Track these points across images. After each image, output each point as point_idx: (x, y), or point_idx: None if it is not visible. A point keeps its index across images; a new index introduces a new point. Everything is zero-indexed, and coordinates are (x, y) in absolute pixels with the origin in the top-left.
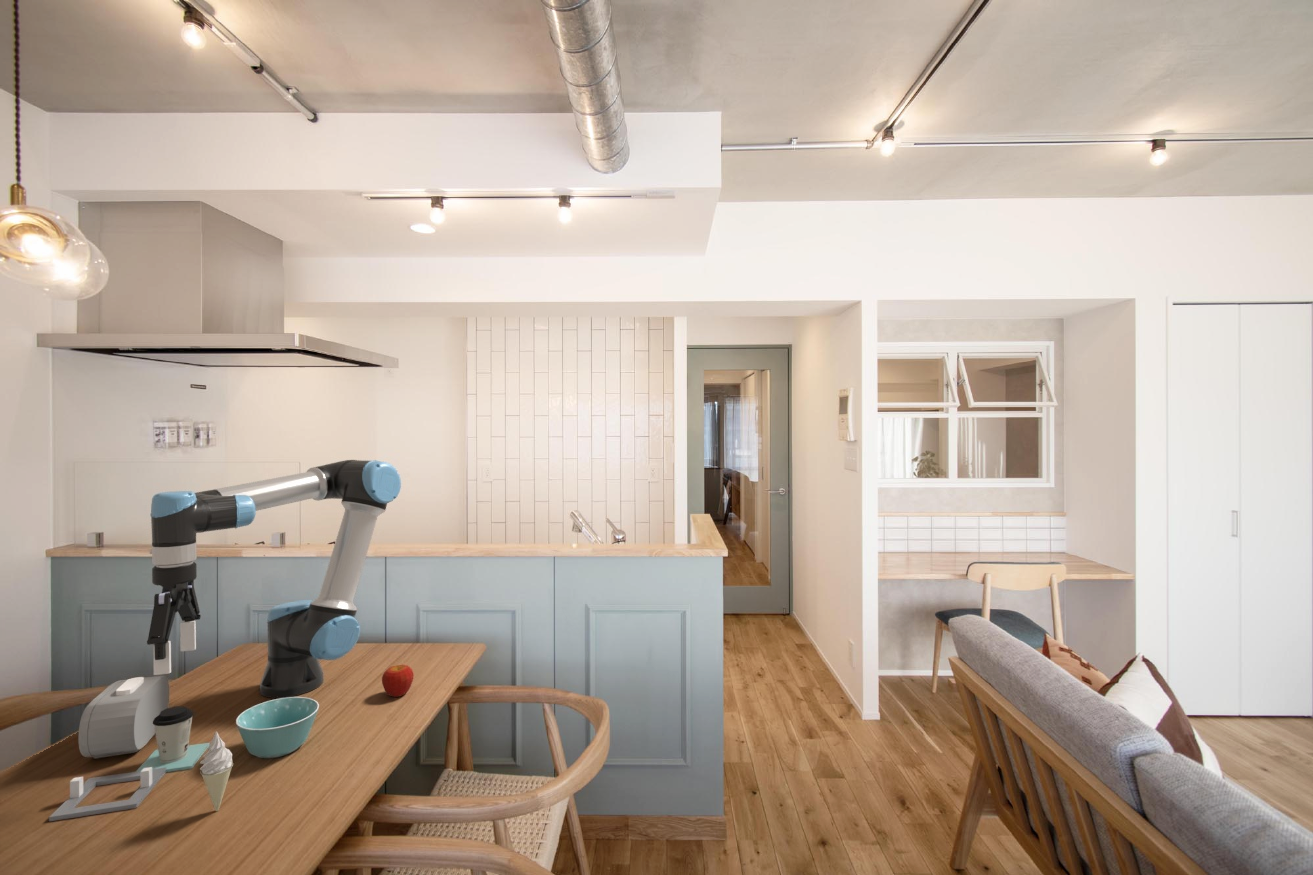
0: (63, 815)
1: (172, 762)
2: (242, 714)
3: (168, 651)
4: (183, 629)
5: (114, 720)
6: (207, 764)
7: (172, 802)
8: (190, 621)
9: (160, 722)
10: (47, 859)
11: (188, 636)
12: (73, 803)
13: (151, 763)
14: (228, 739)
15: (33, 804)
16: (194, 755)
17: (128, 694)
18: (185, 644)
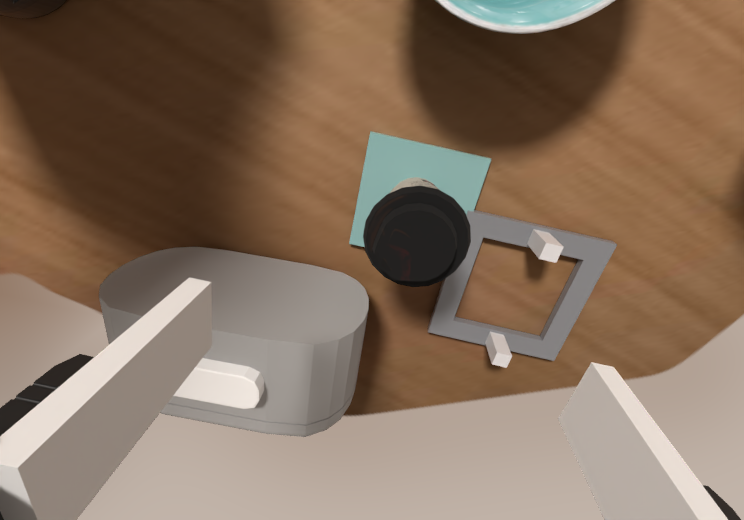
0: (562, 344)
1: None
2: (470, 12)
3: (716, 516)
4: (107, 461)
5: (352, 363)
6: None
7: (645, 177)
8: (5, 494)
9: (455, 269)
10: (698, 337)
11: (149, 378)
12: (525, 338)
13: None
14: (357, 84)
15: (464, 381)
16: (432, 159)
17: (264, 374)
18: (189, 351)
